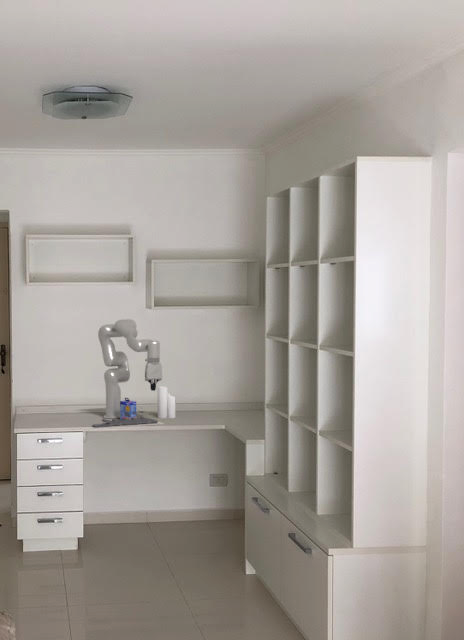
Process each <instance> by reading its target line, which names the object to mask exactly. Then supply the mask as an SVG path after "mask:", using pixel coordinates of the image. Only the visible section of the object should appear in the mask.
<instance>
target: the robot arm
mask: <svg viewBox="0 0 464 640" xmlns="http://www.w3.org/2000/svg"><path fill="white" fill-rule="evenodd" d="M138 333H139V331H138V330H137V324H136V321H134V319H132V318H128V319H118V320H116V321H115V323H114V324H111V323H109V324H104V325H102V326H100V328H99V330H98V331H97V336H98V341H99V343H100V348H101V353H102V358H103V363H104V365H105V366H106V367H113V368H108V369H106V370H105V372H104V375H103V377H104V378H103V379H104V383H105V384H104V385H105V414H104V415H103V419H112V418H113V419H120V401H122V393H121V391H122V390H121V387H120V385H119V384H120V383H126V382H128V381H129V380H130V378H131V371H130V366H129V361H128V356H127V355H126V353H125V352H124V351H120V350H119V351H117V349H116V346H115V343H114V341H113V340H112V339H111V338H125V341H126V344H127V346H128V347H129V348H130V349H131V350H132V351H134V352H136V353H143V352H147V355H146V358H145V359H144V361H145V362H146V363H145V369H144V381H146V382H148V383H149V384H150V388H149V389H150V391H156V390H157V384H158V383H159V382H160V381H162V380H163V379H162V378H163V369H162V367H163V366H162V363H161V362H160V359H161V358H160V356H161V355H160V352H161V350H160V349H161V348H160V346H161V345H160V344H161V343H160V340H152V339H150V338H149V339H137V336H138Z"/></svg>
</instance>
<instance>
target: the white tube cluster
mask: <svg viewBox="0 0 464 640" xmlns="http://www.w3.org/2000/svg"><path fill="white" fill-rule="evenodd" d="M168 390H169V387H168V386H164V385H162V386H160V385H159V386H157V418H158V419H167V418H168V419H176V396H175V395H172V393H171V392H169V391H168Z"/></svg>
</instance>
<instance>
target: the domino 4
mask: <svg viewBox="0 0 464 640" xmlns="http://www.w3.org/2000/svg"><path fill="white" fill-rule="evenodd" d="M121 420H122V421H125V422H129V423H134V424H138V425H139V423H140V422H137V421H133V420H130V419H125V418H122V419H121Z"/></svg>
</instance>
